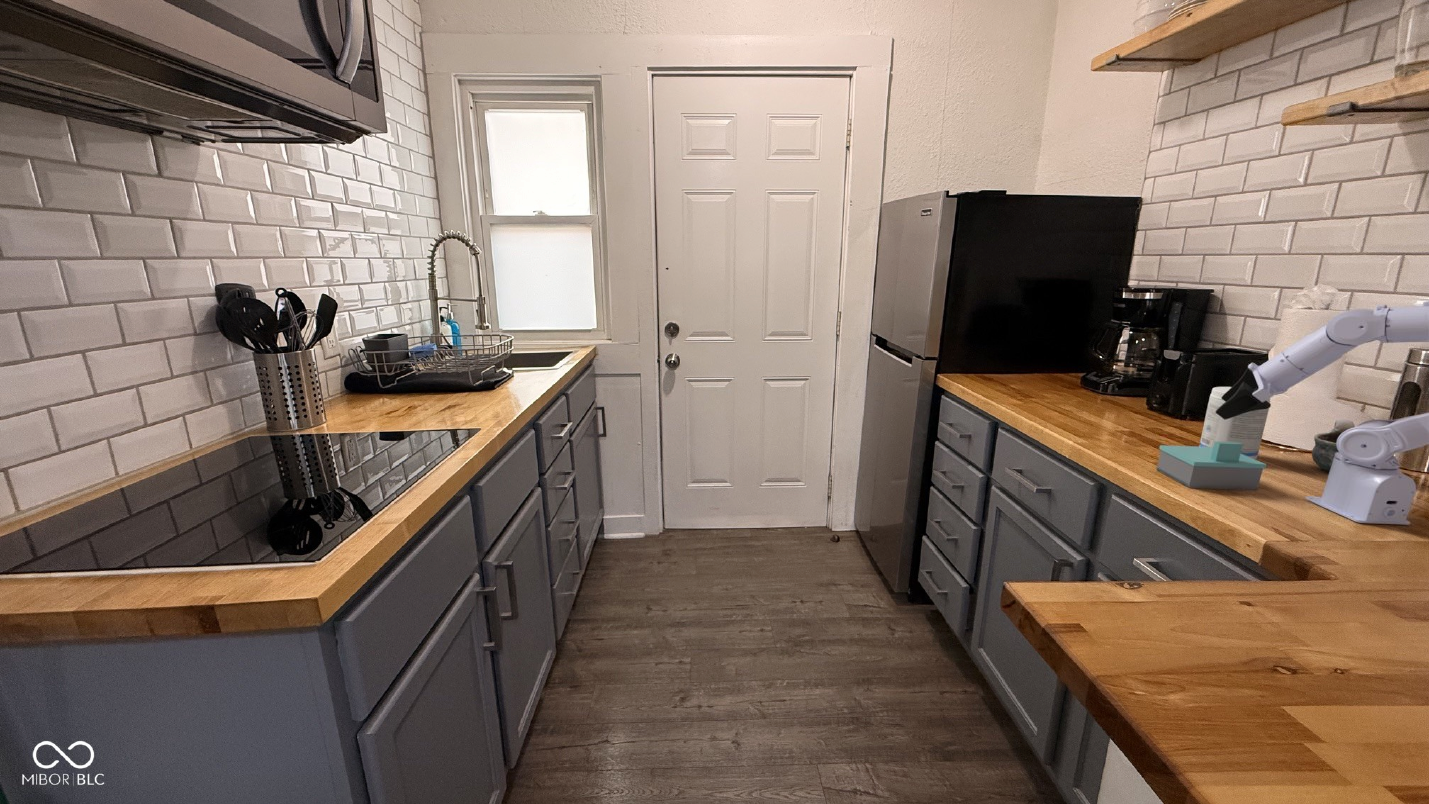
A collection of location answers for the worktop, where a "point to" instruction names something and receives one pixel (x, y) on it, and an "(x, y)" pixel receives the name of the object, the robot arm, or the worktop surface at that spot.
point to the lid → (1214, 455)
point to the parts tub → (1208, 474)
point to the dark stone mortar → (1329, 444)
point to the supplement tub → (1233, 426)
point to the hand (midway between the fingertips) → (1223, 408)
